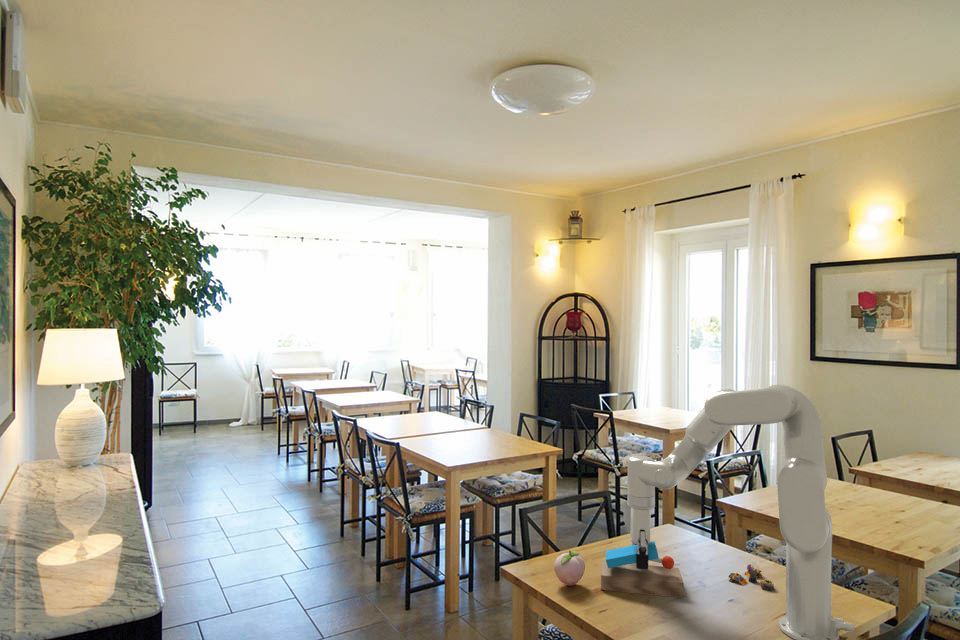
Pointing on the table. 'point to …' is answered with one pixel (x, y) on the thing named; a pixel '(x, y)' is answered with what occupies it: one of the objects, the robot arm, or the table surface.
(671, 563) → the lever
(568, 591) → the table surface
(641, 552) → the robot arm
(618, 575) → the walnut riser block
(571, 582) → the decorative fruit
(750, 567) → the toy set
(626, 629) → the table surface
